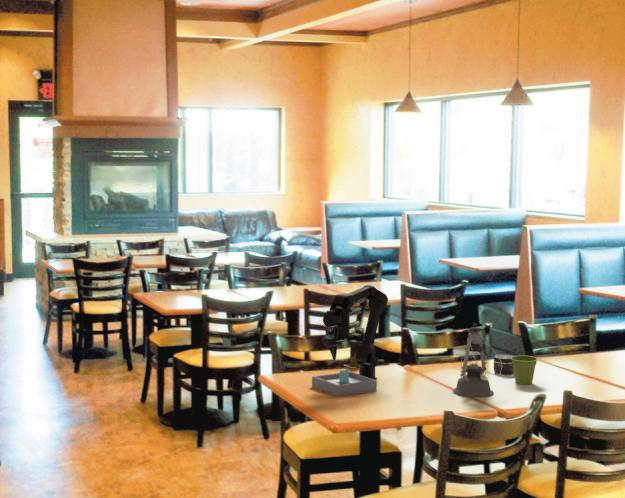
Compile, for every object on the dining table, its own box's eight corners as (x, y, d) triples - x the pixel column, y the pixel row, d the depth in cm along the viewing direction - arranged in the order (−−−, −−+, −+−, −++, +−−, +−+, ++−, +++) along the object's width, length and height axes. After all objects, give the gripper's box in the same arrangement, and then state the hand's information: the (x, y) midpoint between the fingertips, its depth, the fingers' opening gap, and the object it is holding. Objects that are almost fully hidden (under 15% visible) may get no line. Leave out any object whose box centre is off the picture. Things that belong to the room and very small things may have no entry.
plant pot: (510, 379, 441) (510, 354, 440) (536, 380, 439) (537, 356, 438) (509, 385, 430) (510, 360, 428) (537, 386, 427) (538, 361, 426)
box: (350, 381, 433) (350, 371, 433) (376, 390, 416) (376, 380, 416) (312, 386, 423) (312, 376, 422) (337, 396, 406) (337, 385, 406)
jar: (518, 372, 456) (518, 356, 456) (510, 376, 448) (510, 359, 447) (498, 369, 462) (498, 353, 461) (490, 373, 453) (490, 357, 452)
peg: (345, 387, 422) (345, 369, 422) (350, 389, 419) (350, 370, 418) (337, 388, 420) (337, 370, 420) (342, 390, 417) (343, 371, 416)
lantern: (496, 400, 403) (498, 328, 400) (448, 395, 410) (450, 325, 407) (503, 390, 419) (505, 321, 417) (457, 386, 426) (459, 318, 424)
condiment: (366, 366, 465) (366, 341, 464) (351, 368, 461) (352, 343, 459) (357, 363, 471) (357, 339, 470) (343, 365, 467) (343, 340, 465)
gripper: (349, 318, 435) (349, 353, 437) (314, 323, 425) (314, 358, 427) (364, 322, 426) (364, 357, 428) (329, 327, 416) (329, 362, 417)
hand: (343, 358), depth 425 cm, fingers open, 9 cm apart
